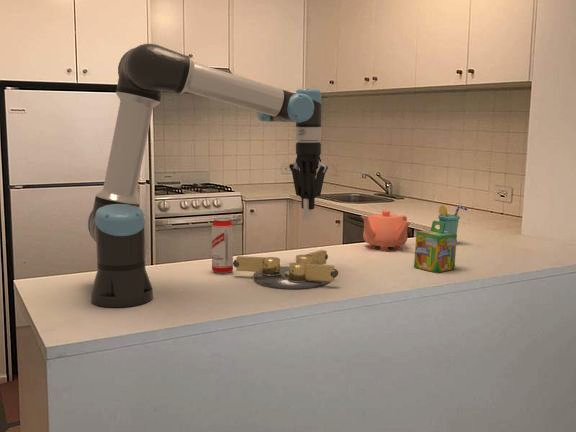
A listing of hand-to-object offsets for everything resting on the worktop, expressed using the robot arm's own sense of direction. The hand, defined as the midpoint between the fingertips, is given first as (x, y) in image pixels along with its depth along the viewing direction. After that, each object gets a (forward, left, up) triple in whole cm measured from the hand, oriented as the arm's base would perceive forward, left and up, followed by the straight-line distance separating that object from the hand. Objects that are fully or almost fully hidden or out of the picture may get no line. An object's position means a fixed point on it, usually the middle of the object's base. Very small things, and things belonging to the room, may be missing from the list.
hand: (307, 219), depth 193 cm
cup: (+67, +6, -15) cm, 69 cm away
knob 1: (-19, -2, -14) cm, 23 cm away
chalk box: (+35, -19, -16) cm, 42 cm away
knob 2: (-1, -5, -14) cm, 15 cm away
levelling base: (-11, -9, -15) cm, 21 cm away
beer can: (-24, +9, -15) cm, 30 cm away
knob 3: (-10, -18, -14) cm, 24 cm away
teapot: (+41, +12, -16) cm, 46 cm away
